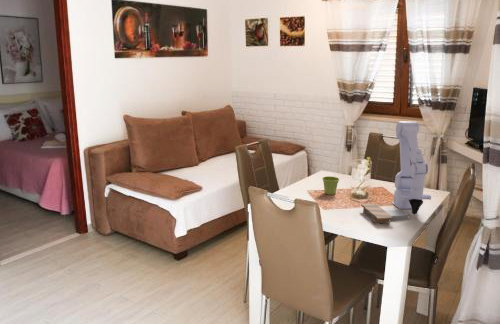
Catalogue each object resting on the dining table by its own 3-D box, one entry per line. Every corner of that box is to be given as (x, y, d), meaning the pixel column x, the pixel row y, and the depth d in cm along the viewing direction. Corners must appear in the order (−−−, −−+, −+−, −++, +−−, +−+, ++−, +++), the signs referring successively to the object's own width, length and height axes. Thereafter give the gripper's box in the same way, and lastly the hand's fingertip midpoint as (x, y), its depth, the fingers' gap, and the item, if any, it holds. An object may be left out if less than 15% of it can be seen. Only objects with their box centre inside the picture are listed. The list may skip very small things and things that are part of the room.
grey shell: (381, 214, 223) (382, 210, 222) (400, 213, 224) (401, 209, 224) (388, 220, 215) (389, 216, 215) (408, 219, 217) (409, 215, 216)
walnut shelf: (360, 210, 227) (361, 204, 227) (374, 210, 229) (375, 203, 228) (377, 225, 208) (377, 218, 207) (392, 224, 209) (393, 217, 208)
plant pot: (339, 196, 251) (340, 181, 249) (322, 195, 251) (323, 180, 249) (337, 191, 260) (337, 176, 258) (320, 190, 260) (321, 176, 258)
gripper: (407, 189, 213) (404, 217, 216) (435, 188, 215) (432, 216, 218) (400, 185, 220) (397, 212, 223) (427, 184, 222) (425, 211, 225)
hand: (414, 213), depth 221 cm, fingers closed
